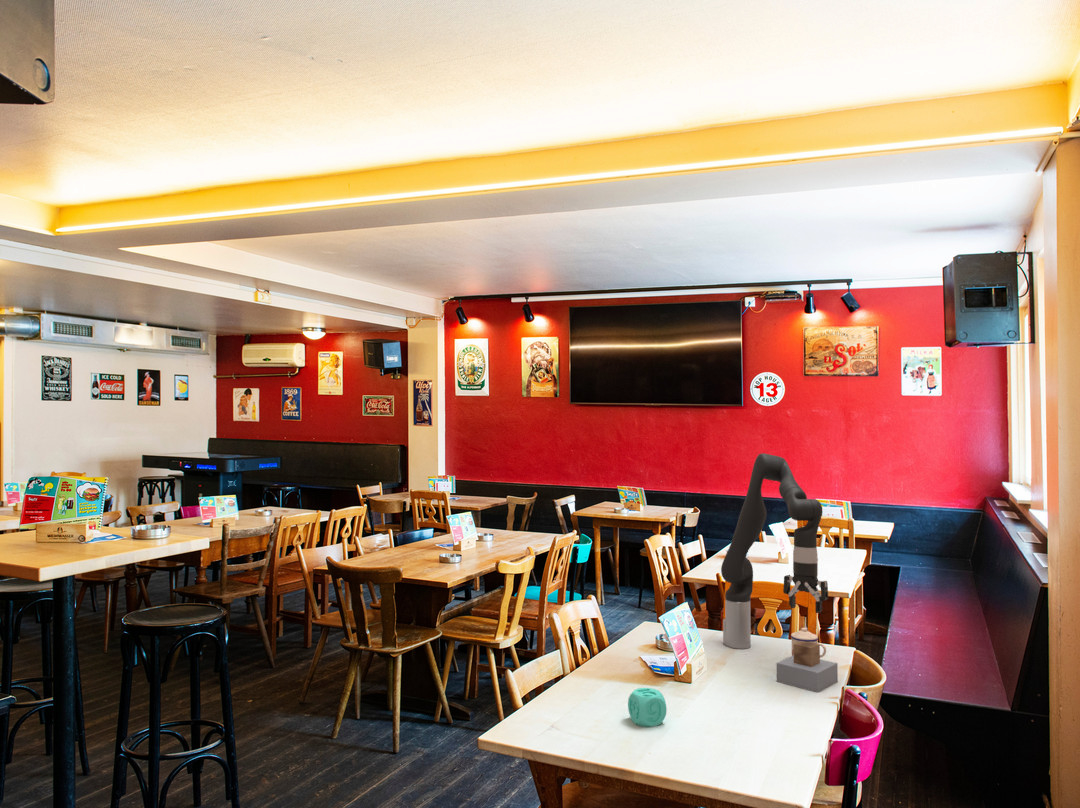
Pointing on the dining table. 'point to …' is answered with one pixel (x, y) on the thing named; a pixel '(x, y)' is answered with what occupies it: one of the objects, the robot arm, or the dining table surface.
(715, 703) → the dining table surface
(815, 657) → the walnut cube
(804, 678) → the slate plinth
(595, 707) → the dining table surface
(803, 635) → the teacup with lid
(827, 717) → the dining table surface
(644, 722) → the decorative dice
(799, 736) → the dining table surface
